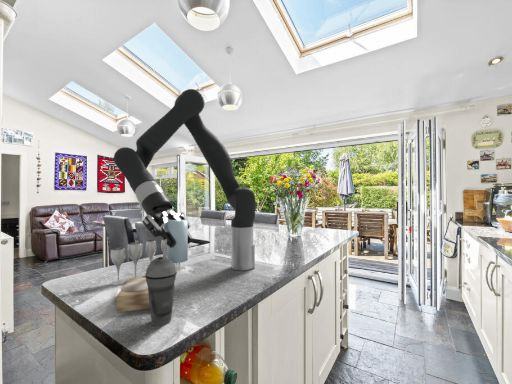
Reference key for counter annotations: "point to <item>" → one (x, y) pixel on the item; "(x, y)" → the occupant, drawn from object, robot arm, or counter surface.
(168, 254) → the pale blue domed cylinder
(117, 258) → the goblet set
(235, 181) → the robot arm
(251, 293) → the counter surface
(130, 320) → the counter surface
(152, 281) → the beverage cup
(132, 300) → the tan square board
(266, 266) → the counter surface
